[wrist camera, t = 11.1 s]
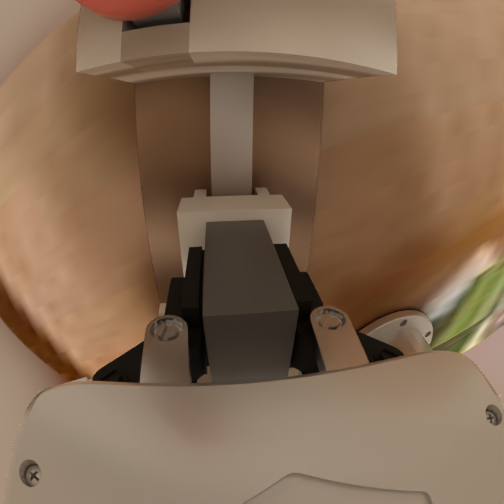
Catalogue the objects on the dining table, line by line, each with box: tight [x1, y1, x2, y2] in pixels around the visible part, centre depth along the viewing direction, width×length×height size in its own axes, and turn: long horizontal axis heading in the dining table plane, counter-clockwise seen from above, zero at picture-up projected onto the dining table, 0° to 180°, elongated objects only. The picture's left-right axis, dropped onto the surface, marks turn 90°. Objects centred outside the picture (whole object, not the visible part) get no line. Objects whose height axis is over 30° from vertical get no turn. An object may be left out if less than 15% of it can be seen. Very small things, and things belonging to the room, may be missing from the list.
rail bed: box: [76, 0, 397, 383], centre depth 14 cm, size 22×10×8 cm, turn 179°
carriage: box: [177, 188, 299, 383], centre depth 12 cm, size 5×5×9 cm
